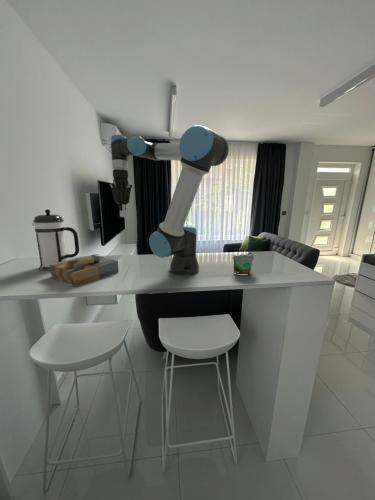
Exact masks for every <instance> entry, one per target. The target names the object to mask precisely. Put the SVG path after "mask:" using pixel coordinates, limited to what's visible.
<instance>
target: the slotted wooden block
mask: <svg viewBox="0 0 375 500" xmlns="http://www.w3.org/2000/svg"><path fill="white" fill-rule="evenodd" d="M91 255H92V254H91ZM91 255H89V256H91ZM86 256H87V255H86ZM86 256H84V257H86ZM99 256H100V255H99ZM49 269H50V273H51V277H52V278H54V279H56V280H59V281H60V282H63V283H65V284H68V285H70V286H72V287H79V286H82V285H85V284H88V283H92V282H94V280H95V281H97V279H98V280H100V278H101V279H103V277H104V278H106V277H105V276H107V277H109V275H110V276H113V275H116V274H119V272H120V271H119V261H118V260H116V259H111V258H108V257H104V256H100V262H98V263H90V264H85V265H84V263H83V262H80V263H76V264H73V267H71V268H66V267H65V262H64V261H63V262H58V263H54V264H50V267H49ZM112 274H113V275H112Z"/></svg>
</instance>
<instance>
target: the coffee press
mask: <svg viewBox="0 0 375 500" xmlns="http://www.w3.org/2000/svg"><path fill="white" fill-rule="evenodd" d="M44 213H45V214H39V215H36V216H35V217H34V219H33V220H32V221H33V222H31V226H33V227H34V232H35V236H36V243H37V248H38V256H39V263H40V265H39V267H38V270H39V271H44V269H46V268H50V264H54V263H58V262H63V261H64V260H68V259H69V258H70V259H72V258H74V257H75V258H76V257H77V256H78V255H79V253H80V244H79V235H78V232H77V230H76V229H74V228H72V227H68V226H64V219H63V218H62V216H61V215H58V214H51V210H50V209H45V210H44ZM65 231H67V232H71V233H72V235H73V240H74V253H71V254H70V253H69V254H68V251H67V245H66V236H65Z"/></svg>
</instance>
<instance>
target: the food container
mask: <svg viewBox="0 0 375 500" xmlns="http://www.w3.org/2000/svg"><path fill="white" fill-rule="evenodd" d="M254 256H255V255H254V254H253V253H252V252H251V251H249V253H247V254H239V255H235V254H233V256H232V260H233V274H234V273H236V274H249V273H250V274H251V271H252V266H253V265H252V264H253V261H254V259H255V257H254ZM250 274H249V275H250Z"/></svg>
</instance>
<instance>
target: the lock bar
mask: <svg viewBox="0 0 375 500" xmlns="http://www.w3.org/2000/svg"><path fill="white" fill-rule="evenodd" d="M64 262H65V267H66V268H71V267H73V264H76V263H80V262H83V263H84V265H85V264H90V263H98V262H100V254H91V256H90V255H86V257H85V256H81V257H80V256H79V257H75V258H70V259H69V258H68V259H67V260H64Z"/></svg>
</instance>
